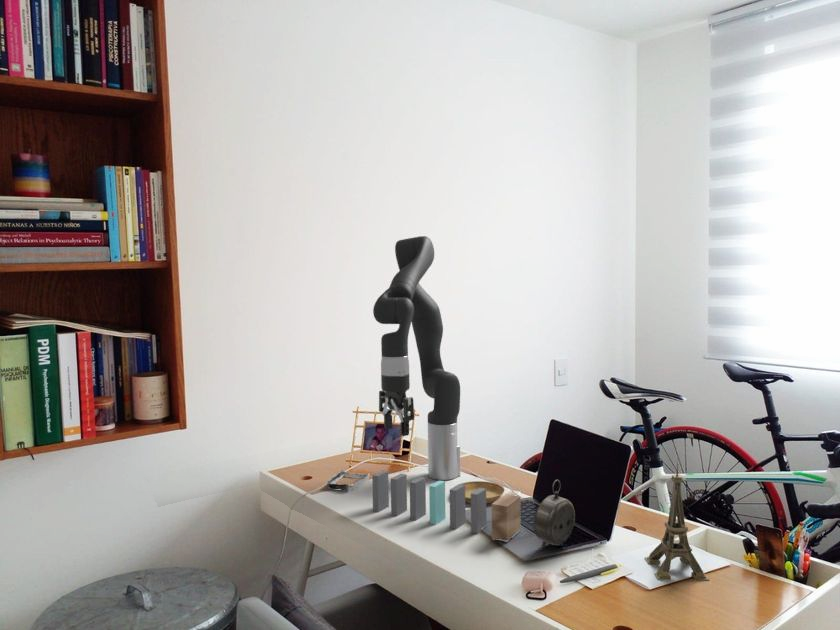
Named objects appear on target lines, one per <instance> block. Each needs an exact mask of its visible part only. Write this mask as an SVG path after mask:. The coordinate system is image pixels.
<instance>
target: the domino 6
mask: <svg viewBox="0 0 840 630" xmlns="http://www.w3.org/2000/svg"><path fill="white" fill-rule="evenodd" d="M485 525H486V526H487V504H486V489H484V488H479V489H477V490H475V491H474V492H472V493H471V503H470V533H472V534H475V535H476V534H477V535H478V534H479V533H481V532H482V531H481V528H482V527H484V526H485Z"/></svg>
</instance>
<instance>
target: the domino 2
mask: <svg viewBox="0 0 840 630" xmlns="http://www.w3.org/2000/svg"><path fill="white" fill-rule="evenodd" d="M407 482H408V480H407V474H406V473H399V474H397V475H395V476H394V477H391V478H390V508H391V510H390V511H391V513H390V514H391V516H393V517H399V516H400V515H401V514H404V513H406V512H407V511H408V494H407V493H408V489H407V488H408V485H407V484H408V483H407Z"/></svg>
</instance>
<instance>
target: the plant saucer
mask: <svg viewBox="0 0 840 630" xmlns="http://www.w3.org/2000/svg"><path fill="white" fill-rule="evenodd" d="M460 484H462V485H465V503H468V504H471V493H472V492H474V491H475V490H477V489H479V488H484V489H486V505H487V504H492V503H494V502H495V501H496V500H498V499H499V498H501V497H502V496H503V495H504V493H505V490H506V489H505V488H504V487H503V486H502V485H500V484H498V483H496V482H493V481H492V482H491V481H483V480H482V481H480V480H478V481H477V480H475V481H466V482H462V483H460Z"/></svg>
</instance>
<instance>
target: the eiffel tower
mask: <svg viewBox="0 0 840 630" xmlns="http://www.w3.org/2000/svg"><path fill="white" fill-rule="evenodd" d="M678 459H679V457H678V456H677V458H676V460H677V462H676V473H675V474H671V477H670V480H671V481H672V482H673V485H672V492H671V500H670V506H669V512H668V513H669V514H668V518H667V520H665V522H664V527H665V528H666V529H665V531H664V535H663V537H662V539H661V538H660V542H661V543H659V544H658V545H657V546H656V547H655V548H654V549H653V550H652V551H651V552H650V553H649V555H648V556H647V557H646V556H644V559H645V561H646V563H647V564H649V565H652V564H653V565H655V564H656V565H657V564H658V565H659V564H660V565H659V567H658V569H657V571H656V572H654V573H653V574H654V576H655V578H656V579H657V580H658V581H672V577H671V575H670V572H671V571H670V570H671V565H672V561H673V560H674V559H676V558H679V559H680V561H681V562H682V564H684V565H689V567H690V569H691V570H692V571H691V576H692V578H693V579H694V580H695V581H710V579H709V577H708V576H707V575H706V574H705V573H704V571H703V569H702V568H701V566H700V564H699V561H697V559H696V557H695V556H694V554H693V553H692V551H693V548H692V547H691V546H690V543H689V540H688V534H687V532H688V531H689V527H688V526H687V525H686V524H685V514H684V513H685V512H684V506H683V496H682V487H681V486H682V484H681V483H684V482H685V481H684V479H683V478H684V477H683V476H682V475H680V474H679V464H678ZM675 536H678V539H675ZM663 556H665V558H664V560H663V561H661V559H662V557H663ZM661 562H662V563H661Z"/></svg>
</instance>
